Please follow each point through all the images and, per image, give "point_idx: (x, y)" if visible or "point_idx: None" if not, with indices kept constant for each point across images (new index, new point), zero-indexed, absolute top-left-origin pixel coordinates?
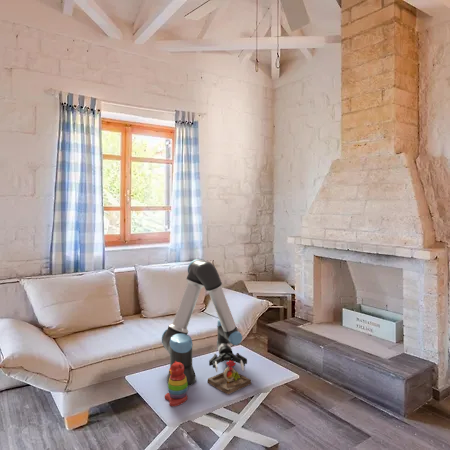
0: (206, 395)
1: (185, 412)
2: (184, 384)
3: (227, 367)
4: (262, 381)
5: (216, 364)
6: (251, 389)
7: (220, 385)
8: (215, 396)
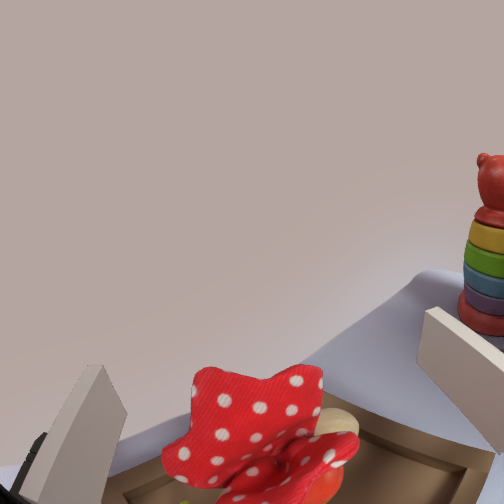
0: (410, 365)
1: (417, 288)
2: (468, 241)
3: (319, 430)
4: None
5: (470, 339)
6: (134, 443)
7: (358, 409)
8: (361, 370)
